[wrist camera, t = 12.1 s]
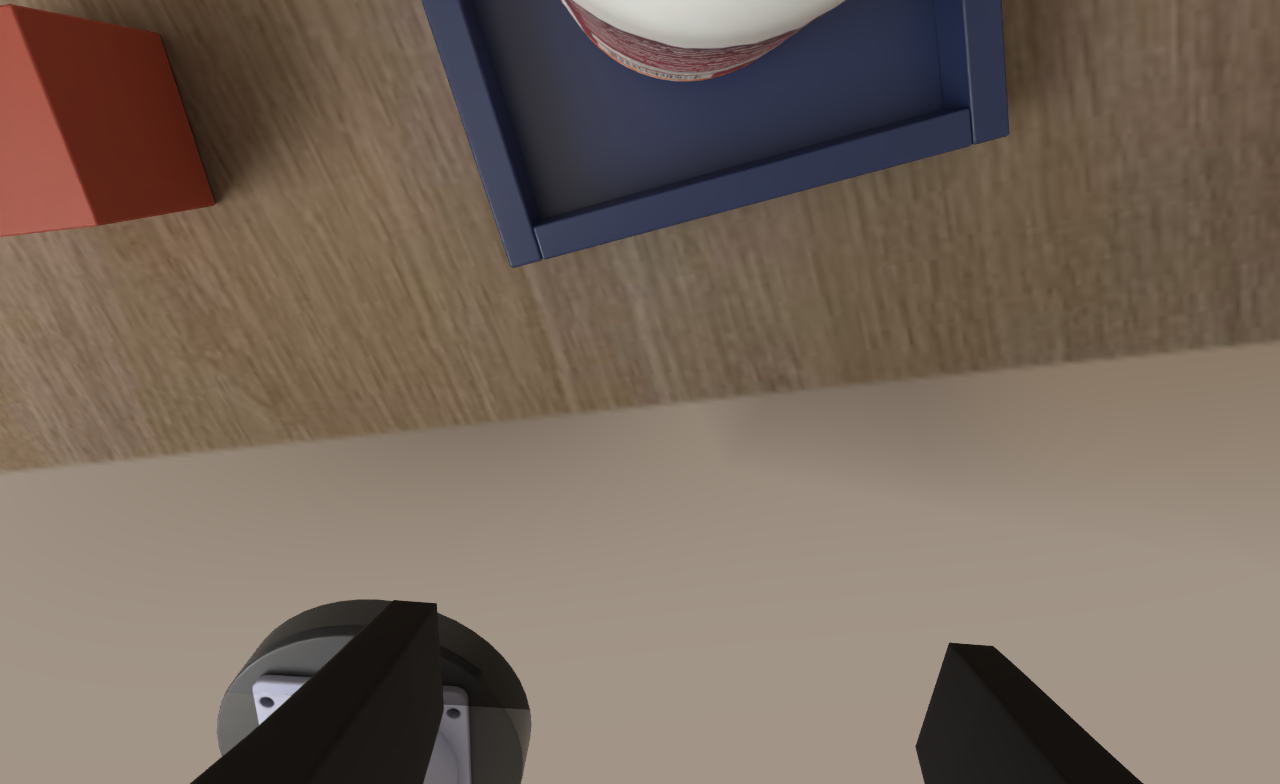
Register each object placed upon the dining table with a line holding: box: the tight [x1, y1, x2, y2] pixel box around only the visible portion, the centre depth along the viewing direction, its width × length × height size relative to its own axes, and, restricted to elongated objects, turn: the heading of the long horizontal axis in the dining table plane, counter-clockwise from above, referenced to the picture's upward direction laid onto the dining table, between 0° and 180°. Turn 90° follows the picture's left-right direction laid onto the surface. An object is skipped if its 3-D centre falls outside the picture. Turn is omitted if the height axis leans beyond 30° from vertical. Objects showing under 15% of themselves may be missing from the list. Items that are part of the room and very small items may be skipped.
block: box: [0, 4, 215, 237], centre depth 15 cm, size 4×4×4 cm
